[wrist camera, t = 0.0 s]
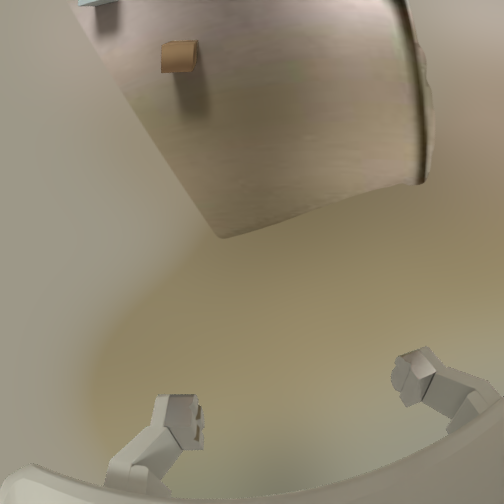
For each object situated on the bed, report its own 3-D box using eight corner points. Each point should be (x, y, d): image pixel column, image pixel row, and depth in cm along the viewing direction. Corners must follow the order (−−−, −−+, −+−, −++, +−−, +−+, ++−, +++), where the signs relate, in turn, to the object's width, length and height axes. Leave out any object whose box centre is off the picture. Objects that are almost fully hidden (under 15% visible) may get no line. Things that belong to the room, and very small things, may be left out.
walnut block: (171, 41, 38) (161, 45, 31) (197, 40, 39) (193, 43, 31) (171, 63, 41) (161, 73, 34) (196, 62, 42) (192, 71, 35)
